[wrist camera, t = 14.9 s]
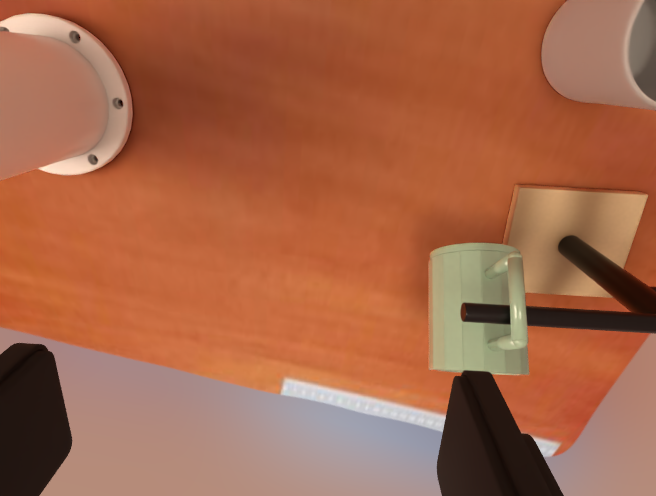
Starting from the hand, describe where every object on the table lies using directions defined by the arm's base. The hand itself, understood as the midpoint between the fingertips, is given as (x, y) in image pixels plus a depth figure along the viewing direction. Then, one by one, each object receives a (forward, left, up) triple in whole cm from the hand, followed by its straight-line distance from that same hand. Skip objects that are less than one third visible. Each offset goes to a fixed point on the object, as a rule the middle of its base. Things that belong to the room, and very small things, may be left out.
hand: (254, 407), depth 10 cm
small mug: (+13, -4, -23) cm, 26 cm away
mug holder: (+19, -6, -30) cm, 37 cm away
